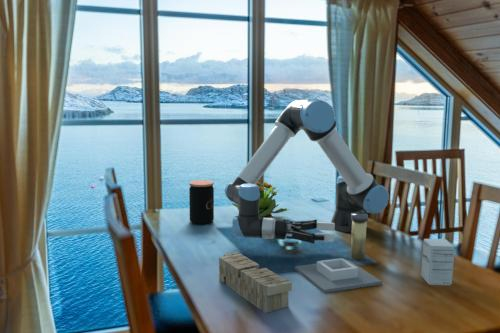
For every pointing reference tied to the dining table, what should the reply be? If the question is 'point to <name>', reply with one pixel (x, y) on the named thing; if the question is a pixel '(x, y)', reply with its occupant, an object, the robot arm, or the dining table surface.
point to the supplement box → (437, 261)
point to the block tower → (254, 282)
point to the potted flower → (266, 201)
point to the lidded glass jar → (358, 235)
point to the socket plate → (337, 275)
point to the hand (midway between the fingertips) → (334, 232)
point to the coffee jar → (201, 202)
